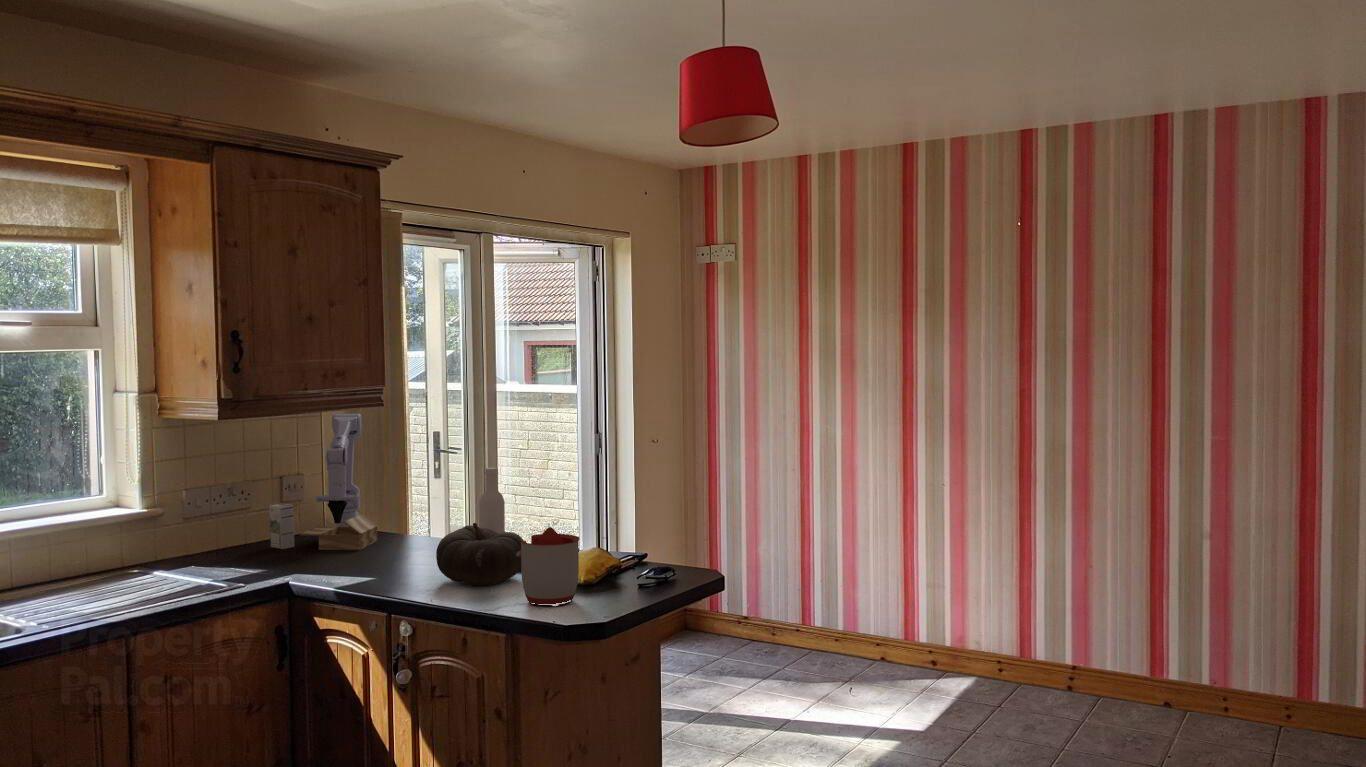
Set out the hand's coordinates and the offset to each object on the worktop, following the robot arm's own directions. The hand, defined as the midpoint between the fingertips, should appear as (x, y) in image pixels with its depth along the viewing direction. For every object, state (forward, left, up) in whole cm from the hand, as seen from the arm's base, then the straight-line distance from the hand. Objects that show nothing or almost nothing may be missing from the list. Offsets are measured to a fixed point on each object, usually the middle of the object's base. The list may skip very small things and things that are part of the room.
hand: (337, 522), depth 354 cm
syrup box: (+5, -17, -8) cm, 20 cm away
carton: (0, 0, -8) cm, 8 cm away
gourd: (+49, +64, -8) cm, 81 cm away
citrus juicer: (+73, +88, -8) cm, 114 cm away
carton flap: (0, +8, -1) cm, 8 cm away
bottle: (+27, +61, -8) cm, 67 cm away
